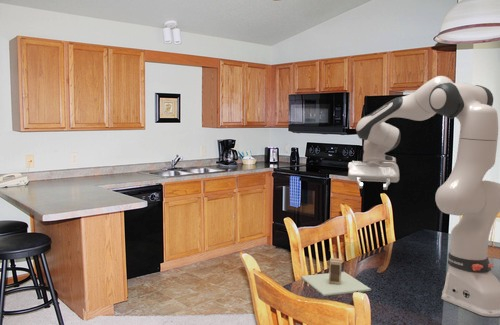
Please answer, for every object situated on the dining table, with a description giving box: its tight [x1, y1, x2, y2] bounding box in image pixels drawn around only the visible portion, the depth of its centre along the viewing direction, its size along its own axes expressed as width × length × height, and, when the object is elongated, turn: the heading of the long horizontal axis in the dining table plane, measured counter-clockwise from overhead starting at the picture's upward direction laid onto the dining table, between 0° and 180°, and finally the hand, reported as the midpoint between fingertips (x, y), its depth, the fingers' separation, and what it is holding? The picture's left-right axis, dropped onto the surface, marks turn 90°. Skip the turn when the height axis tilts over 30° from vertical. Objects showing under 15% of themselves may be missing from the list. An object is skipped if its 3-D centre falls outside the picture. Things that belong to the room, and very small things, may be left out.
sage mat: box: [300, 271, 372, 297], centre depth 155 cm, size 18×18×1 cm
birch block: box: [328, 257, 343, 285], centre depth 155 cm, size 4×4×8 cm
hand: (373, 188), depth 175 cm, fingers open, 8 cm apart
